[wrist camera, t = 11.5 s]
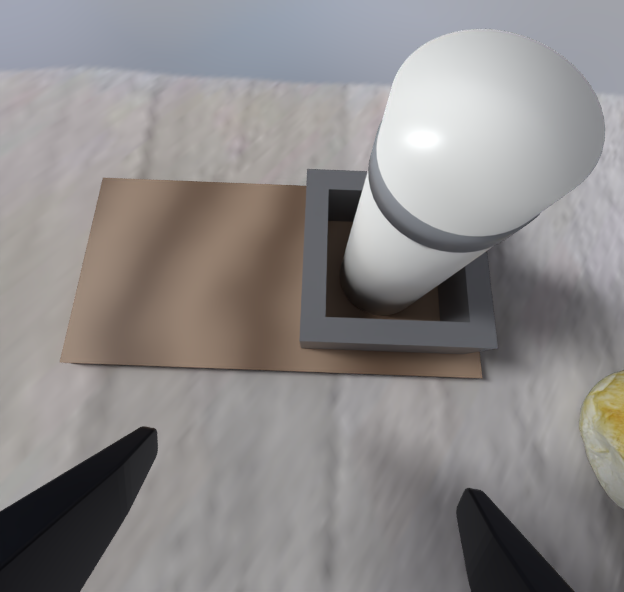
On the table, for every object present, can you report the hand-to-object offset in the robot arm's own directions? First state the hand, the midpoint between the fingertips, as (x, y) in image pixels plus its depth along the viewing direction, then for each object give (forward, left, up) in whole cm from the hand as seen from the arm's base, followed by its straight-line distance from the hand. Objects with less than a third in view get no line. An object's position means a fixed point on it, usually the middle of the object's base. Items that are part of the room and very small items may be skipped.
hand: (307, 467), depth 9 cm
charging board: (+7, -6, -9) cm, 13 cm away
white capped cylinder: (+1, -10, -8) cm, 13 cm away
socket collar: (+1, -10, -8) cm, 13 cm away
